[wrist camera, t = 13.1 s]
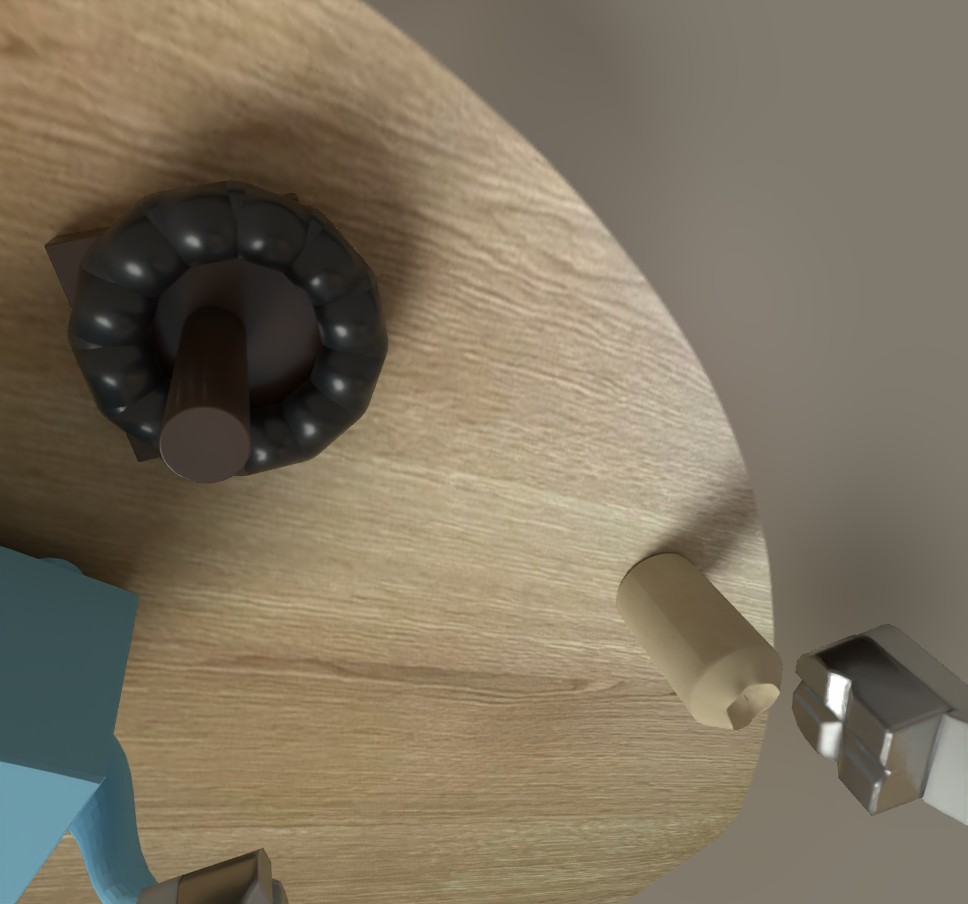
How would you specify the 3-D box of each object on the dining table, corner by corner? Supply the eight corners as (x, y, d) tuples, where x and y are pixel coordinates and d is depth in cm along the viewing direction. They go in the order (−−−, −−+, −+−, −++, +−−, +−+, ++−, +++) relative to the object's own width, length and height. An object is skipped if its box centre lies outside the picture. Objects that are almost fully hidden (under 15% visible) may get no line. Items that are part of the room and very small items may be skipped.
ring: (347, 156, 27) (357, 163, 24) (400, 420, 32) (412, 445, 30) (25, 209, 24) (4, 222, 22) (142, 484, 30) (134, 516, 28)
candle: (650, 636, 46) (744, 760, 38) (598, 602, 43) (686, 729, 35) (709, 575, 45) (819, 688, 37) (659, 537, 42) (766, 650, 34)
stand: (295, 192, 28) (328, 250, 18) (346, 396, 32) (395, 531, 23) (52, 237, 26) (-55, 328, 16) (142, 447, 31) (99, 616, 21)
